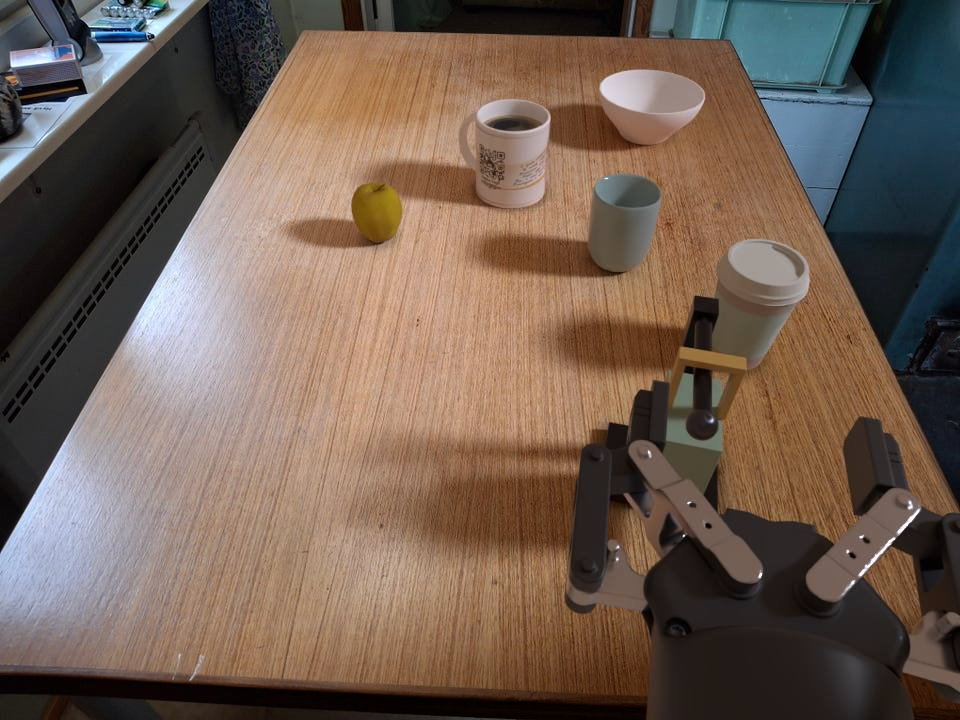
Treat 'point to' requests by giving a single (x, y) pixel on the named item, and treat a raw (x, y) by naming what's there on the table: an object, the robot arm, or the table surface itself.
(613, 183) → the cup
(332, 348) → the table surface
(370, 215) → the apple
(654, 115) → the bowl
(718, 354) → the green box with handle
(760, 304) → the coffee cup
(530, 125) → the mug
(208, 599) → the table surface
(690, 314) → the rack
